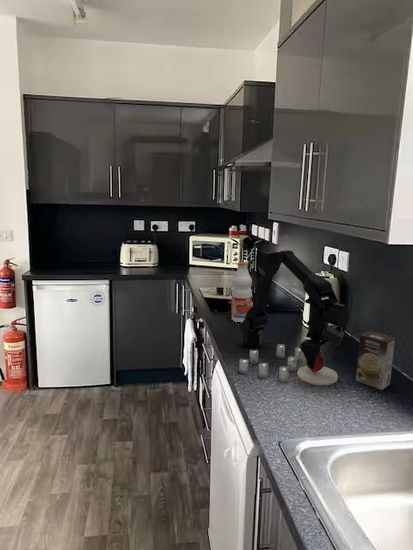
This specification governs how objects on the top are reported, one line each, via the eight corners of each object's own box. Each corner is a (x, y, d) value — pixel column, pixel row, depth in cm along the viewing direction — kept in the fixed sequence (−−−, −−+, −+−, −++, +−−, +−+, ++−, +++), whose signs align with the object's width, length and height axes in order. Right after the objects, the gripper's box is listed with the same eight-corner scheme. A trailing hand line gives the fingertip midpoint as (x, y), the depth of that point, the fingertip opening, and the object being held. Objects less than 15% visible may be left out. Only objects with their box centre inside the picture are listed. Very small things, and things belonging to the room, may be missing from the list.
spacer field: (237, 373, 142) (238, 360, 141) (260, 351, 161) (260, 340, 160) (286, 383, 135) (287, 370, 134) (303, 359, 154) (304, 348, 153)
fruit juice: (244, 316, 206) (245, 260, 200) (255, 321, 198) (256, 263, 192) (227, 319, 202) (228, 261, 196) (238, 324, 194) (239, 264, 188)
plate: (292, 380, 137) (292, 376, 137) (302, 365, 149) (303, 362, 148) (333, 388, 131) (333, 385, 131) (340, 373, 143) (340, 369, 143)
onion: (310, 367, 144) (311, 345, 143) (325, 372, 141) (327, 349, 139) (302, 372, 140) (303, 349, 138) (318, 377, 136) (320, 354, 135)
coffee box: (354, 381, 137) (358, 334, 134) (363, 375, 141) (367, 330, 138) (382, 390, 131) (387, 341, 127) (390, 384, 135) (395, 337, 132)
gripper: (338, 330, 125) (334, 379, 128) (348, 314, 141) (344, 358, 144) (301, 325, 130) (298, 372, 133) (314, 310, 146) (312, 352, 149)
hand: (314, 363), depth 140 cm, fingers open, 9 cm apart
